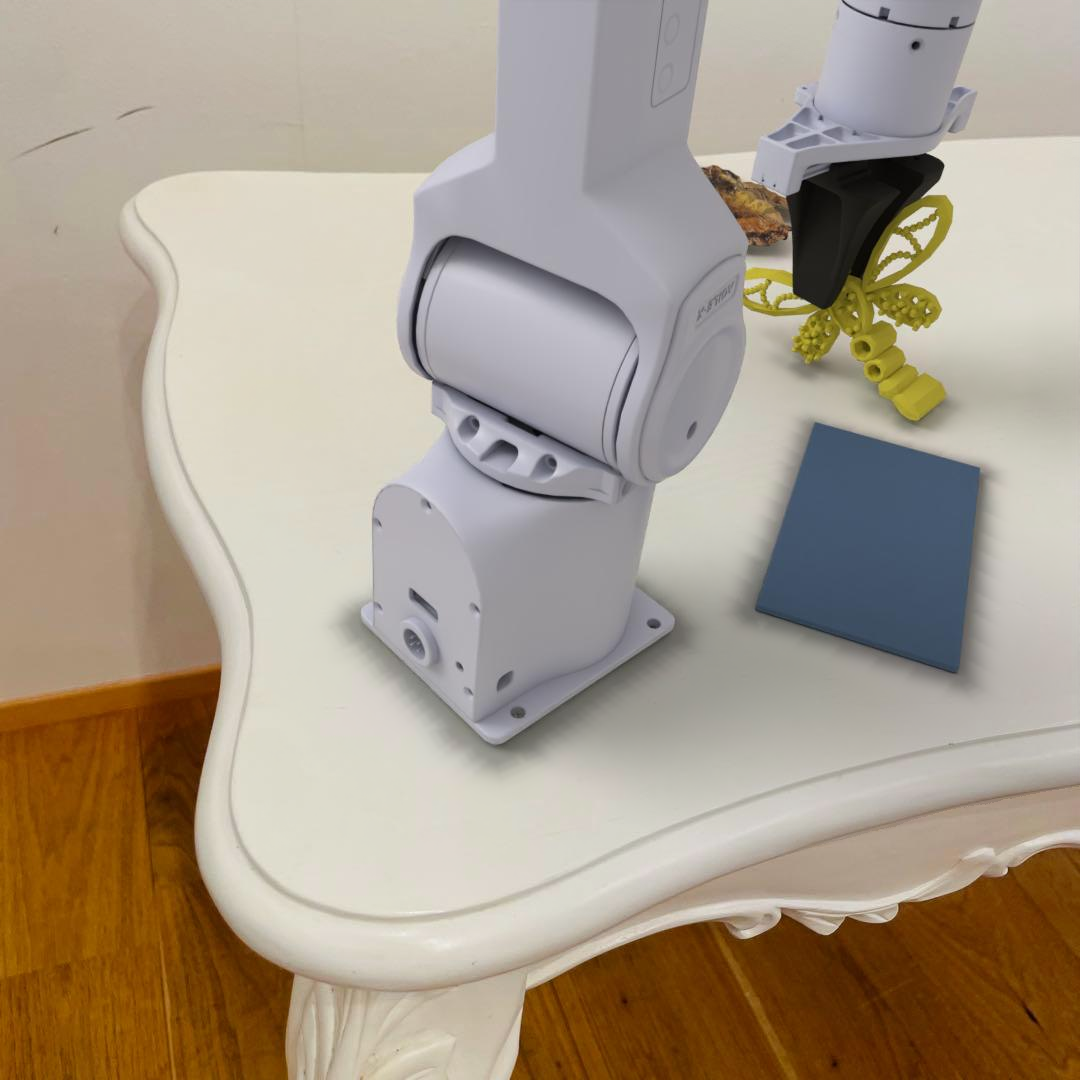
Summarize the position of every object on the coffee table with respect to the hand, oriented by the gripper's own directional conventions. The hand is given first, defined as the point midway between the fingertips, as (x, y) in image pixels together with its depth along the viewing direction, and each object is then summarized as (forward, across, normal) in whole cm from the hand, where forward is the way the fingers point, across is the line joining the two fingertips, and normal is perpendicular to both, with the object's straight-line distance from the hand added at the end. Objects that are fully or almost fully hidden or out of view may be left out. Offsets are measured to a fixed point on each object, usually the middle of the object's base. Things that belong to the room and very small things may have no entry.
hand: (823, 294), depth 56 cm
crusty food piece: (+4, -10, -14) cm, 18 cm away
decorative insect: (+4, -1, +1) cm, 4 cm away
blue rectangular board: (+4, +9, +10) cm, 14 cm away
